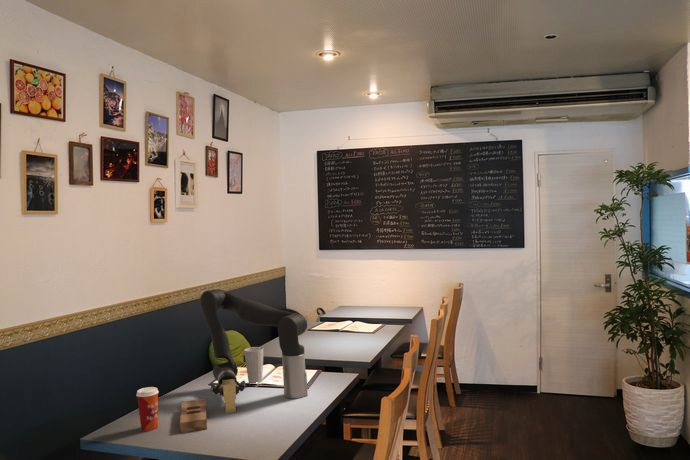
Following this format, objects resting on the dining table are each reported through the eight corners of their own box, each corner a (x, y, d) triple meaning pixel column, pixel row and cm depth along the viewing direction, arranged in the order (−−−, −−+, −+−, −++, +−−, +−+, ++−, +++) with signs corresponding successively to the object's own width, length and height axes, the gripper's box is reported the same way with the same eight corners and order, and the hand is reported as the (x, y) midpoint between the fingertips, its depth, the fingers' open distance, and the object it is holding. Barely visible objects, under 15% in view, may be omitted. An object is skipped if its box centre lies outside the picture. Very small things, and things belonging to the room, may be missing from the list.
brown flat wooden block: (205, 407, 224) (205, 398, 224) (206, 428, 201) (206, 419, 201) (182, 410, 222) (181, 401, 222) (180, 432, 199) (180, 422, 199)
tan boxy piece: (235, 406, 224) (234, 378, 224) (236, 412, 217) (235, 383, 217) (223, 408, 223) (222, 380, 222) (224, 413, 216) (223, 385, 216)
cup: (269, 381, 255) (267, 347, 255) (256, 387, 248) (254, 352, 248) (254, 379, 260) (252, 346, 260) (241, 384, 253) (240, 350, 252)
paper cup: (153, 432, 200) (151, 393, 200) (133, 431, 202) (131, 392, 201) (164, 424, 208) (162, 386, 208) (145, 423, 209) (143, 386, 209)
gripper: (208, 374, 232) (209, 385, 215) (244, 369, 235) (248, 381, 219) (209, 392, 232) (211, 405, 215) (245, 387, 235) (249, 400, 219)
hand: (229, 392), depth 217 cm, fingers closed on tan boxy piece, 4 cm apart
